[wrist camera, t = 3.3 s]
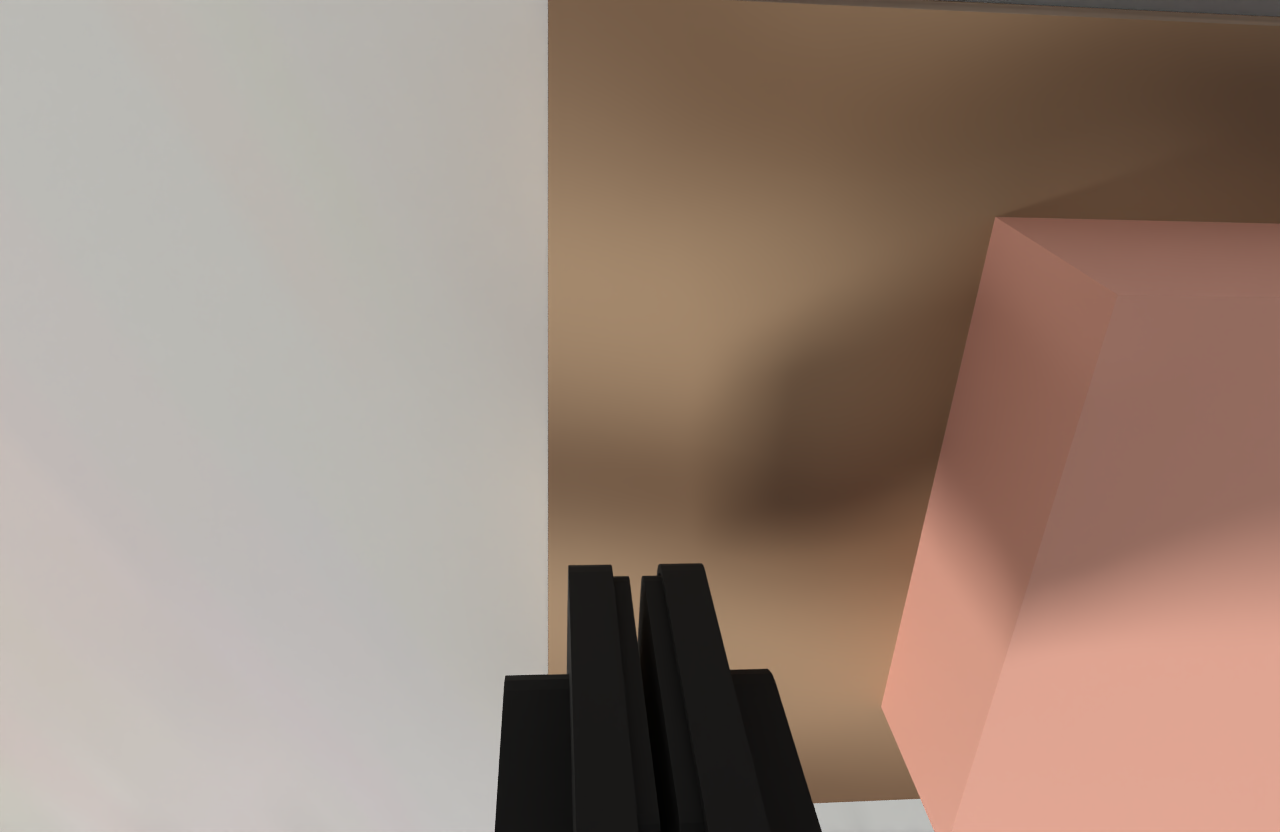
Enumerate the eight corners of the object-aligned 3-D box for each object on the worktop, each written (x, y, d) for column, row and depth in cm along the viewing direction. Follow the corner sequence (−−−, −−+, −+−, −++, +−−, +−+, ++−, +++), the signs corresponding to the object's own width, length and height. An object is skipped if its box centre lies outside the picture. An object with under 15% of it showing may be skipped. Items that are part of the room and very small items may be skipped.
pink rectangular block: (995, 216, 12) (1117, 294, 10) (1400, 226, 13) (1621, 302, 10) (881, 706, 16) (944, 854, 14) (1190, 696, 17) (1308, 837, 14)
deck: (548, -19, 13) (548, -9, 10) (1683, 35, 14) (1885, 54, 12) (548, 713, 19) (548, 814, 17) (1330, 688, 21) (1421, 776, 19)
